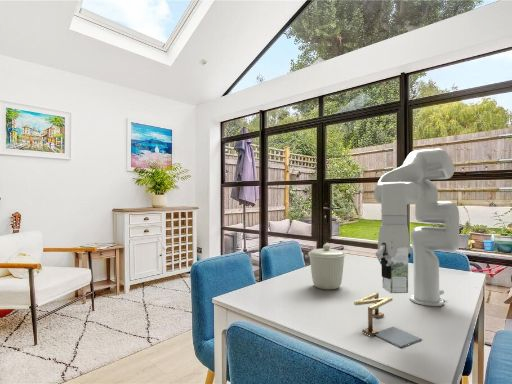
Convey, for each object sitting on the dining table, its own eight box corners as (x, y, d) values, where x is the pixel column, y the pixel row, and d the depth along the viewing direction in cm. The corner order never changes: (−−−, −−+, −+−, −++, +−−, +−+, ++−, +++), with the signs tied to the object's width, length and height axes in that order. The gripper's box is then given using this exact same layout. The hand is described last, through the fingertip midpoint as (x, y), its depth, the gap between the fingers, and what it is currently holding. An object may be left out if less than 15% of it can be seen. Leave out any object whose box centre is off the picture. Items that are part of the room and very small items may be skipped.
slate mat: (393, 328, 104) (393, 326, 104) (421, 340, 95) (421, 338, 95) (373, 334, 99) (373, 333, 99) (400, 348, 91) (400, 346, 91)
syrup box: (399, 287, 101) (398, 243, 101) (408, 293, 95) (408, 246, 95) (382, 288, 101) (381, 244, 101) (390, 294, 95) (390, 247, 95)
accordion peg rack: (376, 313, 117) (375, 290, 117) (406, 325, 106) (405, 300, 106) (342, 322, 109) (342, 298, 109) (371, 337, 98) (370, 310, 98)
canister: (303, 289, 148) (303, 245, 148) (314, 280, 164) (314, 240, 164) (341, 294, 139) (341, 248, 140) (349, 284, 155) (348, 242, 156)
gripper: (401, 218, 105) (402, 270, 105) (365, 221, 97) (366, 277, 97) (422, 220, 99) (423, 275, 99) (385, 223, 90) (386, 283, 90)
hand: (395, 275), depth 98 cm, fingers closed on syrup box, 7 cm apart
